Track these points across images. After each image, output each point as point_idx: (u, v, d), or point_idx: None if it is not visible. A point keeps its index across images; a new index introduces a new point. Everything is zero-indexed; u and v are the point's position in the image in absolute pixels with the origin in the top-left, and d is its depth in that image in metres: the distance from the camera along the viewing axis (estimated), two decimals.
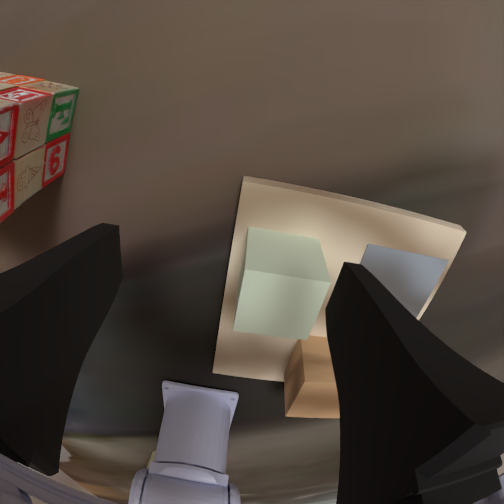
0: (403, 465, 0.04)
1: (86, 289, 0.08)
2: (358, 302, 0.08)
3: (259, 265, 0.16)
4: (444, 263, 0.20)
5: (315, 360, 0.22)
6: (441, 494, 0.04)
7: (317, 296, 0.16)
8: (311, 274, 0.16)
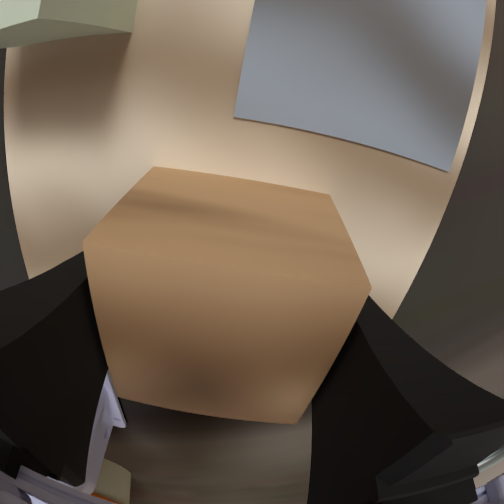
0: (365, 470, 0.04)
1: None
2: None
3: None
4: None
5: (159, 204, 0.07)
6: None
7: None
8: None
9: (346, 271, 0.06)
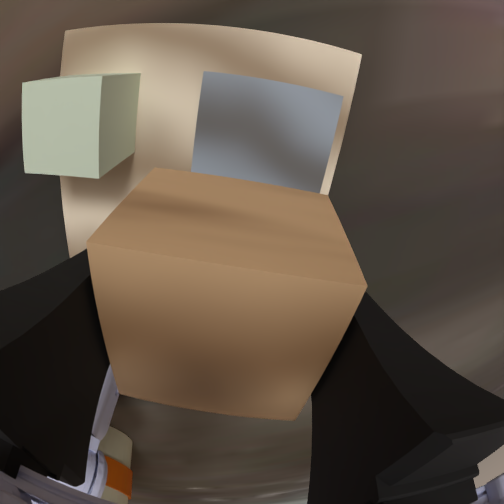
0: (365, 470, 0.04)
1: None
2: None
3: (40, 80, 0.10)
4: (337, 100, 0.14)
5: (160, 204, 0.07)
6: (406, 503, 0.03)
7: (91, 100, 0.10)
8: (86, 76, 0.10)
9: (342, 270, 0.06)
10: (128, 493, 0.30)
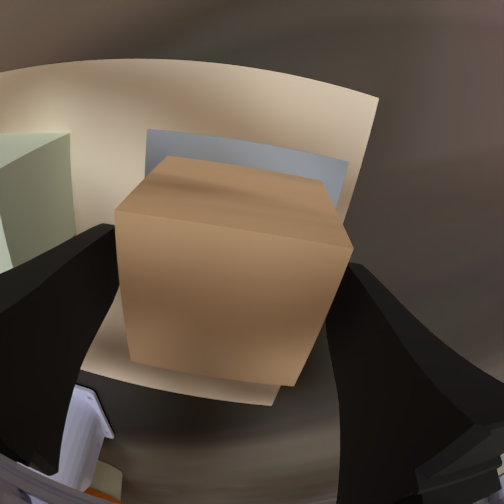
0: (403, 465, 0.04)
1: (86, 289, 0.08)
2: (358, 302, 0.08)
3: None
4: (340, 168, 0.10)
5: (176, 184, 0.08)
6: (441, 494, 0.04)
7: None
8: None
9: (332, 236, 0.07)
10: None
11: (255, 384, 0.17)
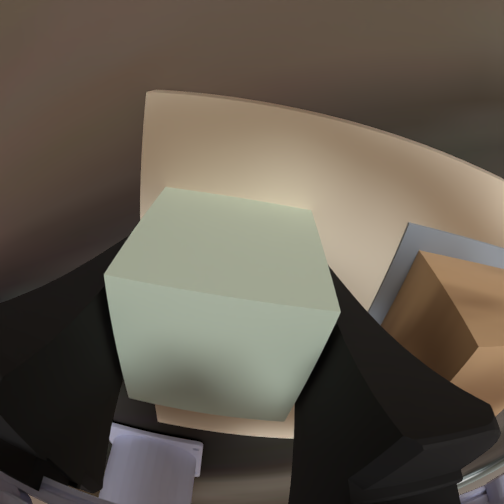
0: (339, 472, 0.04)
1: None
2: None
3: (148, 264, 0.06)
4: None
5: (471, 299, 0.08)
6: None
7: (305, 345, 0.06)
8: (287, 290, 0.06)
9: None
10: None
11: None
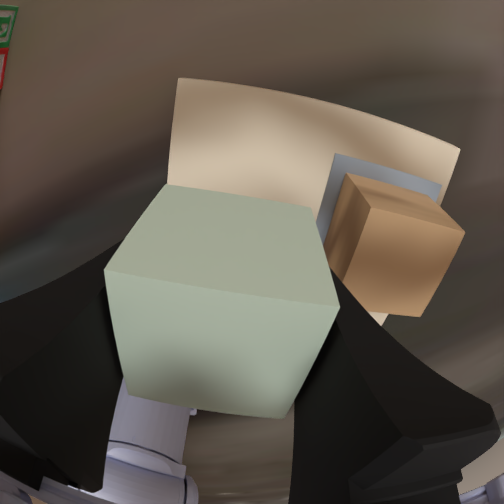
0: (339, 472, 0.04)
1: None
2: None
3: (148, 259, 0.06)
4: (437, 188, 0.16)
5: (376, 194, 0.14)
6: None
7: (304, 340, 0.06)
8: (287, 286, 0.06)
9: (455, 226, 0.13)
10: None
11: None
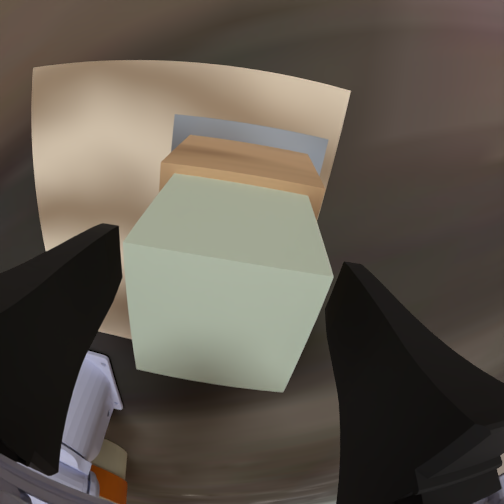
0: (403, 465, 0.04)
1: (85, 289, 0.07)
2: (358, 302, 0.08)
3: (162, 234, 0.07)
4: (321, 144, 0.14)
5: (200, 150, 0.11)
6: (441, 494, 0.04)
7: (302, 309, 0.07)
8: (286, 258, 0.07)
9: (311, 182, 0.10)
10: (123, 503, 0.30)
11: None
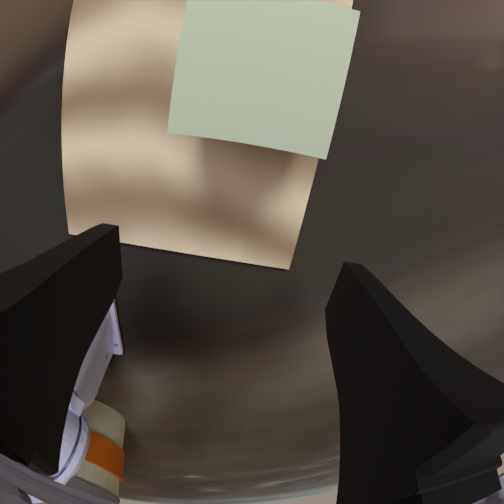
0: (403, 465, 0.04)
1: (86, 289, 0.08)
2: (358, 302, 0.08)
3: None
4: None
5: None
6: (441, 494, 0.04)
7: (338, 38, 0.06)
8: (321, 4, 0.06)
9: None
10: (119, 475, 0.29)
11: (274, 235, 0.20)
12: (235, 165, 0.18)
